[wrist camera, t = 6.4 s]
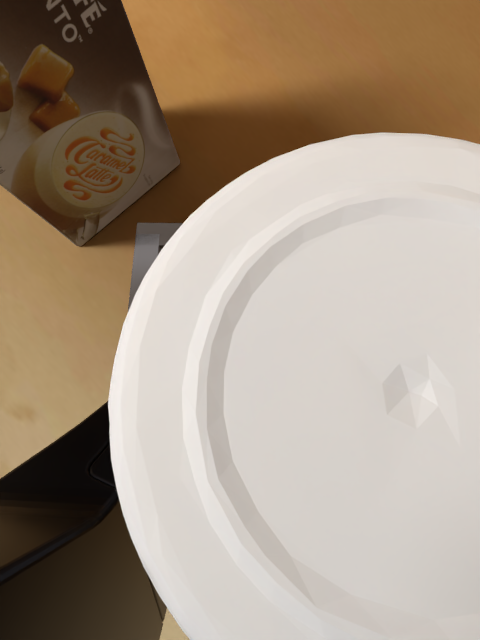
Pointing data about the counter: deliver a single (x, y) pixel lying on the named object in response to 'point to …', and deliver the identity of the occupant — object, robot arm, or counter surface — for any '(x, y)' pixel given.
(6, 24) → the coffee box
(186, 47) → the counter surface
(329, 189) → the sprinkles bottle
